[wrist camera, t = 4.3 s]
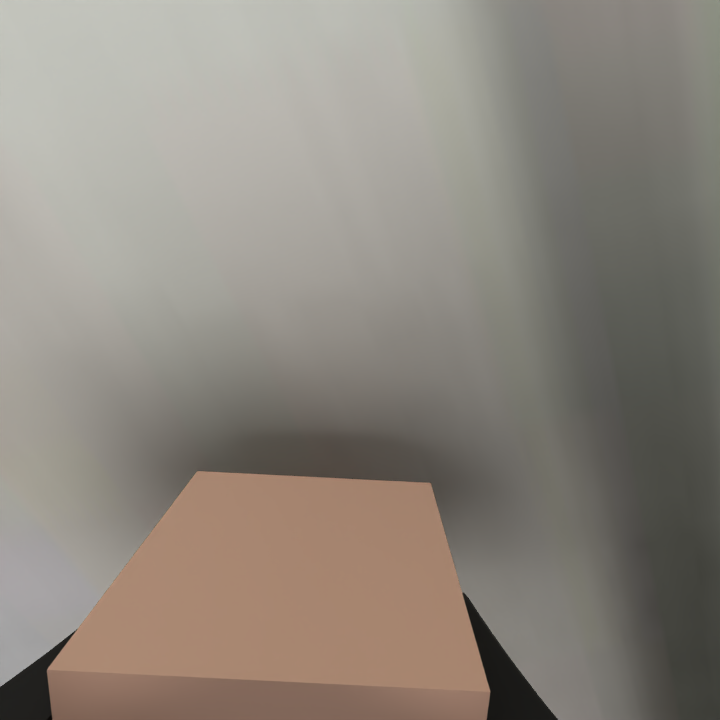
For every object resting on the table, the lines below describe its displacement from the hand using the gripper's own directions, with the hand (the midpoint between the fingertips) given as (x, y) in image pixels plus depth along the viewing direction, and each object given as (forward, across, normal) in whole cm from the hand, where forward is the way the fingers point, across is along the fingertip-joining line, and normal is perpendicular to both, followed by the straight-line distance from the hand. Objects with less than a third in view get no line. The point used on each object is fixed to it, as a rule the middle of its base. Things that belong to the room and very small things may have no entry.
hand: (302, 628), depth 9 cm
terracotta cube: (+2, 0, 0) cm, 2 cm away
